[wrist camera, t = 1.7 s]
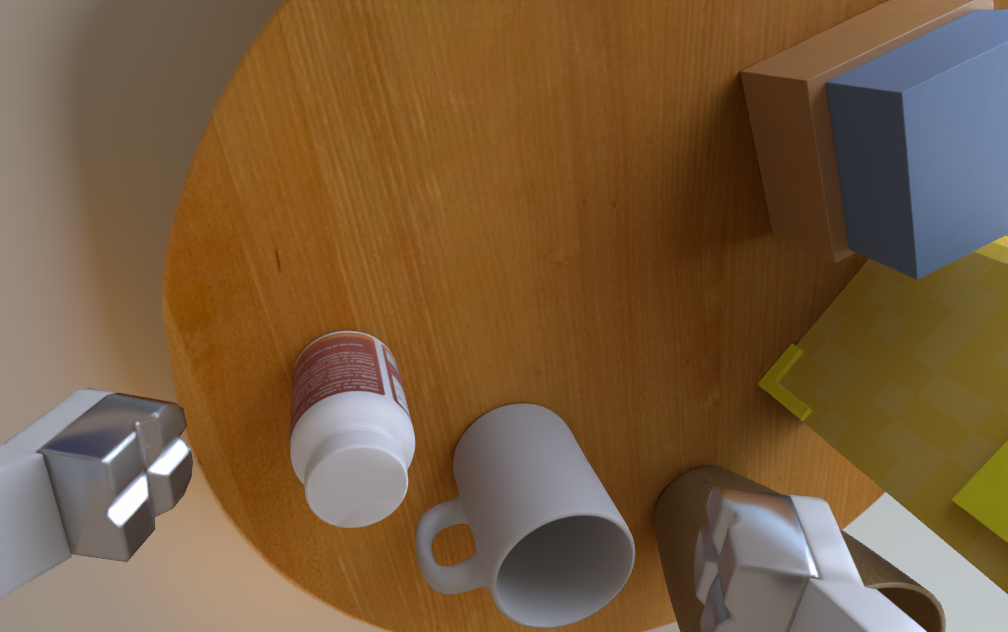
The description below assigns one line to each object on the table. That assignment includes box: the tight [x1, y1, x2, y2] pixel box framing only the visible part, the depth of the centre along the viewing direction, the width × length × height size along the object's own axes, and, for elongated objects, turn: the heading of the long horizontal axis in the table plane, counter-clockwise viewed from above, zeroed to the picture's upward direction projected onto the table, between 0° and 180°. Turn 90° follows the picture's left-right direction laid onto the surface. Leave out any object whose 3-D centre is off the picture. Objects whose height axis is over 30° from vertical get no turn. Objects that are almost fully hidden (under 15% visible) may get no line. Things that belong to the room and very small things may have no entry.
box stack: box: [740, 0, 1008, 280], centre depth 37 cm, size 11×11×11 cm
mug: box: [415, 403, 635, 628], centre depth 41 cm, size 12×8×11 cm
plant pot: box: [654, 466, 946, 632], centre depth 46 cm, size 15×15×16 cm
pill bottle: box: [290, 331, 415, 528], centre depth 36 cm, size 6×6×11 cm
